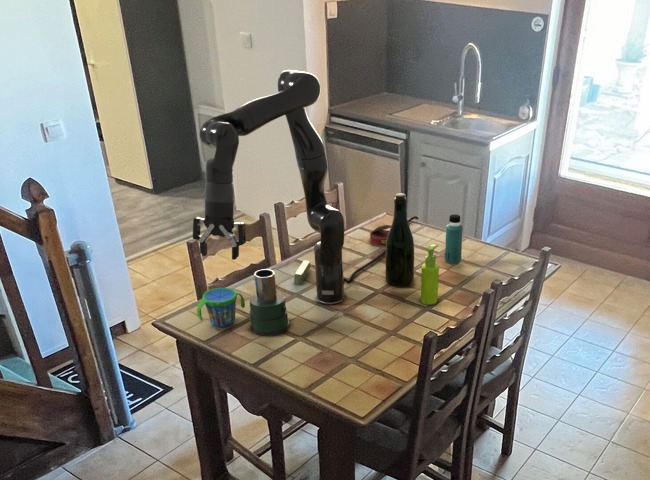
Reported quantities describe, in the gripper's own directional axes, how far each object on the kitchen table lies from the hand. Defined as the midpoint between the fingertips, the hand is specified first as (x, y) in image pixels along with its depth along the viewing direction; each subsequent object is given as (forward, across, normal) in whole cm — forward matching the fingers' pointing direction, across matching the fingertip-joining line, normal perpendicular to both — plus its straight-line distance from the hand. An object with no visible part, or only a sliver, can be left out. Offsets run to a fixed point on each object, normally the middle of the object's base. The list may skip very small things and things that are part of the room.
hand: (219, 257), depth 192 cm
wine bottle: (+17, -46, -60) cm, 77 cm away
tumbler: (+17, -8, -20) cm, 27 cm away
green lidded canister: (+27, -9, -22) cm, 36 cm away
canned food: (+11, -34, -95) cm, 102 cm away
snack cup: (+28, +7, -22) cm, 36 cm away
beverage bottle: (+12, -64, -77) cm, 101 cm away
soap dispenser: (+19, -58, -47) cm, 77 cm away
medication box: (+20, -10, -58) cm, 62 cm away
